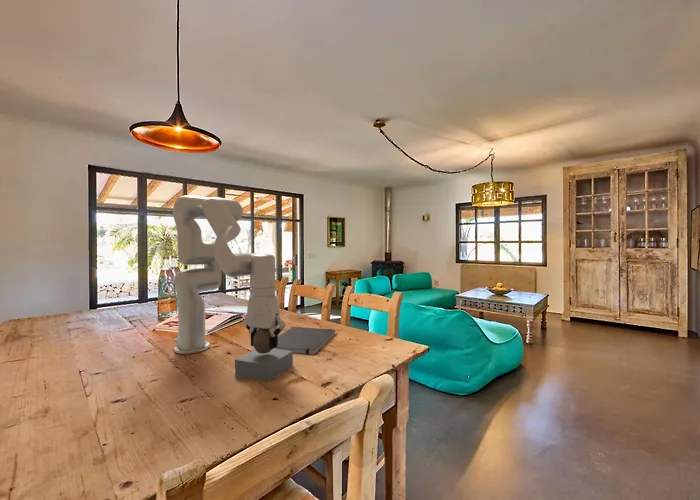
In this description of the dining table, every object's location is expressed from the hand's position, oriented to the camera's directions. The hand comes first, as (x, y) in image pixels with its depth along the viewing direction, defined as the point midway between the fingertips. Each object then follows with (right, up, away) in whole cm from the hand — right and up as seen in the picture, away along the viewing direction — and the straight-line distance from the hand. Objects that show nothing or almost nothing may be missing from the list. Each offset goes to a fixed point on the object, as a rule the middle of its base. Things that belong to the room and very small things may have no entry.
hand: (264, 345), depth 103 cm
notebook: (+8, -8, +31) cm, 32 cm away
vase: (0, -2, 0) cm, 2 cm away
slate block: (0, -8, 0) cm, 8 cm away
